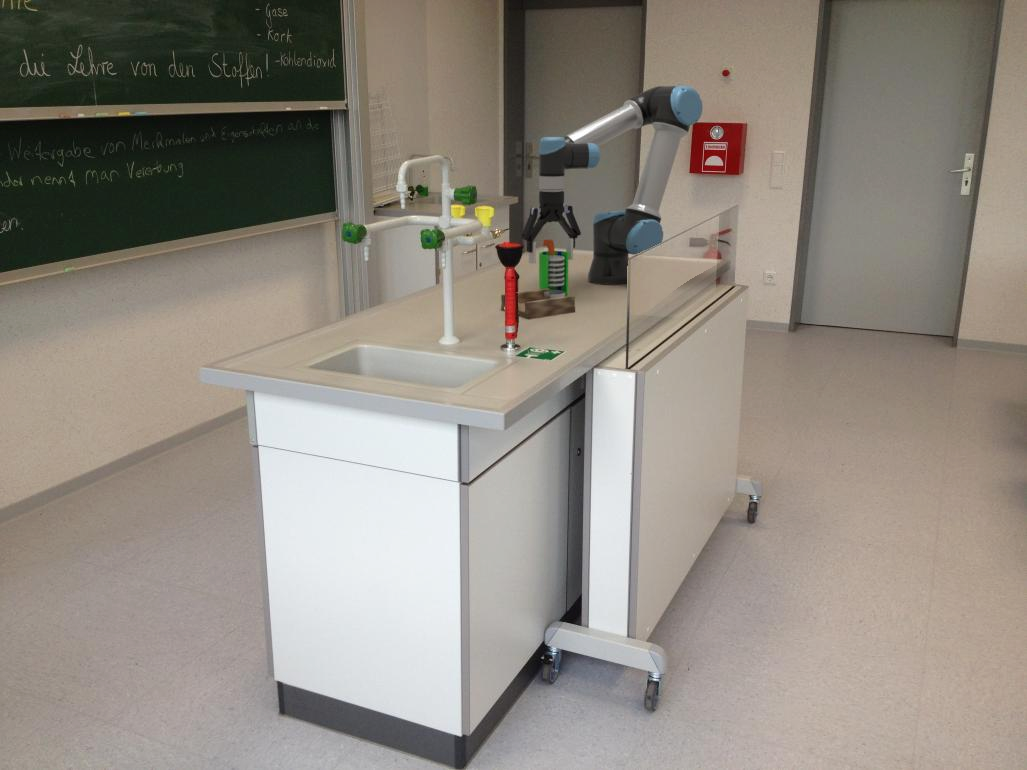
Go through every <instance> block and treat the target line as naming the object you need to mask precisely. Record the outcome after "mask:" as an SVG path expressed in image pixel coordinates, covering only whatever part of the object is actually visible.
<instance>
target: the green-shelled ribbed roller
mask: <svg viewBox="0 0 1027 770" xmlns="http://www.w3.org/2000/svg"><path fill="white" fill-rule="evenodd" d="M542 244H543V245H542V247H547V250H544V251H540V252H539V253H538V254H539V255H538V259H539V261H538V266H539V267H538V290H539V289H546V288H548V289H550V299H551V298H558V297H565V296H569V259H568V252H566V250H563V251H562V250H555V243H554V241H553V240H552V239H550V238H549V239H543V243H542Z"/></svg>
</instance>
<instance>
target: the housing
mask: <svg viewBox="0 0 1027 770" xmlns="http://www.w3.org/2000/svg"><path fill="white" fill-rule="evenodd" d="M517 293H518V303H519V316H518V317H521V316H522V318H524V317H525V318H524V319H527V318H528V319H527V320H532V319H536V318H543V317H550V316H557V315H562V314H563V315H564V314H569V313H576V306H575V305H576V302H575V301H576V300H575V297H576V296H575V295H568V296H565V297H558V298H551V299H550V289H548V288H546V289H539V288H538V289H533V290H526V291H518V292H517ZM505 294H506V293H504V294H501V295H500V296H501V298H500V299H501V306H500V308H501V311H504V307H505ZM502 309H503V310H502ZM520 315H521V316H520ZM531 318H532V319H531Z"/></svg>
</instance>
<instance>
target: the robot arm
mask: <svg viewBox="0 0 1027 770" xmlns="http://www.w3.org/2000/svg"><path fill="white" fill-rule="evenodd" d="M702 114H703V100H702V98H701V96H700V94H699V92H698V90H696V89H695V88H693V87H691V86H689V85H688V86H687V85H680V84H679V85H667V86H665V85H664V86H663V85H662V86H654V87H652V88H648V89H647V90H645V91H642V92H640V93H638V94H637V95H635V96H632V97H631V98H629V99H627V100H625V102H624V103H623V105H622V106H621V107H619V108H617V109H615V110H613V111H611V112H609V113H607V114H606V115H603V116H602V117H600V118H597V119H596V120H594V121H592V122H590V123H588V124H586V125H585V126H583V127H581V128H578V129H576V130H574V131H572V132H570V133H569V134H567V135H565V136H563V137H562V136H545V137H544V136H543V137H542V138H541V139H540V140H539V146H538V155H539V156H538V159H539V160H538V162H539V164H538V166H539V167H538V170H539V171H538V173H539V175H538V176H539V177H538V178H539V181H538V182H539V184H538V185H539V187H538V188H539V190H540V191H539V192H538V203H539V206H538V208H537V207H530V209H529V216H528V218H527V220H526V223H525V226H524V229H523V231H522V233H521V236H520V239H521V240H524V241H525V242H526V251H527V253H528V263H529V264H533V265H535V264H536V263H537V254H536V251H537V242H536V241H535V239H536V237H538V234H539V233H540V232H541V230H542V229H543V227H544V225H546V224H547V223H554V222H555V223H557V222H558V224H559V225H560V226H561V228H562V230H563V231H564V232H565V233H566V235H567V236H568V237H566V238H565V239H566V240H565V241H566V243H565V244H566V245H565V246H566V247H565V249H566V250H565V252H568V261H572V260H574V249H575V248H576V239H577V238H578V237H579V236H581V235H582V232H581V229H580V227H579V225H578V222H577V219H576V218H575V214H574V211H573V210H574V209H573V206H572V205H569V204H566V205H565V206H564V203H565V192H564V190H565V172H566V171H565V170H579V169H581V170H583V169H585V170H588V169H593V168H596V167H597V166H598V165H599V162H600V159H601V157H600V156H601V151H600V149H599V146H601V145H603V144H605V143H607V142H609V141H611V140H613V139H614V138H616V137H618V136H621V135H622V134H624V133H626V132H628V131H630V130H631V129H632V130H633V129H635V130H637V129H640V128H642V127H646V126H647V125H652V127H653V129H654V133H653V138H652V140H651V143H650V147H649V150H648V153H647V157H646V159H645V163H644V166H643V169H642V171H641V172H642V173H641V176H640V178H639V183H638V185H637V188H636V192H635V196H634V199H633V202H632V204H630V205H629V206H627V207H626V209H625V210H612V211H611V210H610V211H603V212H602V211H601V212H600V211H599V212H596V213H595V214H594V217H593V223H592V227H593V240H592V241H593V249H592V250H593V258H592V261H591V264H590V267H589V271H588V273H587V280H589V281H588V282H590V281H591V282H590V283H593V282H594V283H593V284H598V283H600V284H601V285H621V284H628V283H627V266H628V260H629V261H630V259H629V258H630V257H629V254H631V255H633V256H635V255H634V254H637V253H640V252H642V251H644V250H647V249H649V248H651V247H653V246H655V245H657V244H659V243H661V244H662V243H663V239H664V230H663V227H662V224H661V220H662V216H661V214H660V207H661V204H662V201H663V198H664V195H665V192H666V189H667V185H668V183H669V179H670V175H671V172H672V169H673V166H674V163H675V160H676V156H677V153H678V149H679V147H680V143H681V141H682V139H683V138H684V137H685V136H687V135H688V134H689V130H690V127H691V126H692V125H694V124H696V123H698V121H699V120H700V119H701V117H702ZM564 213H565V214H564ZM563 214H564V215H565V216H566V218H565V217H564V215H563ZM538 216H539V217H538ZM566 219H567V220H566Z"/></svg>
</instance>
